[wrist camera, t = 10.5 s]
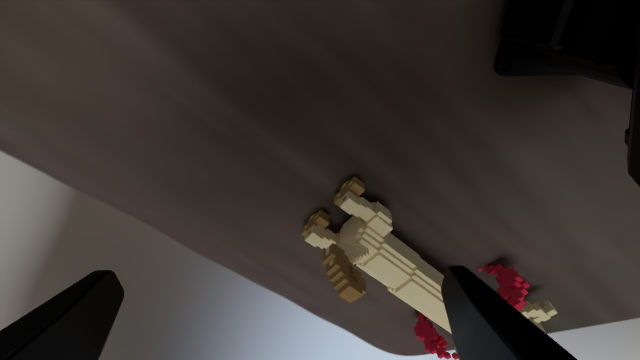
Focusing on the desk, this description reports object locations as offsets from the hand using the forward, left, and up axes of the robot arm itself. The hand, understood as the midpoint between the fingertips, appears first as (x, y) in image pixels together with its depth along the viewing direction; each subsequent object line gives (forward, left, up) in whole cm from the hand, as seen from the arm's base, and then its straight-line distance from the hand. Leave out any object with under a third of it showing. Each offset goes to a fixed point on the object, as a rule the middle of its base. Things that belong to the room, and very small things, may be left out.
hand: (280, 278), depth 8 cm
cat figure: (-11, +14, -12) cm, 22 cm away
